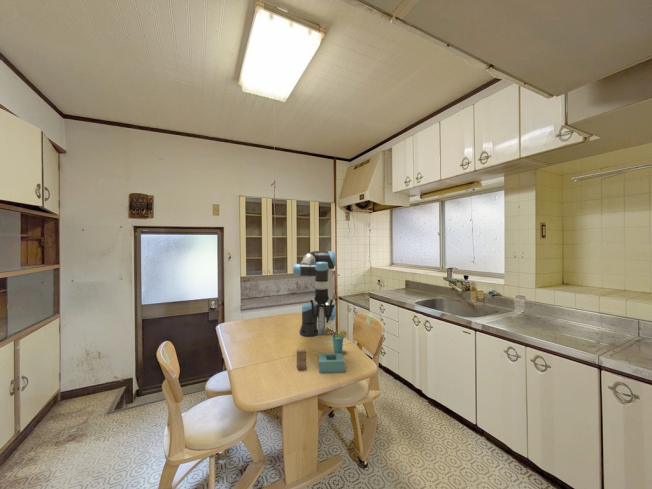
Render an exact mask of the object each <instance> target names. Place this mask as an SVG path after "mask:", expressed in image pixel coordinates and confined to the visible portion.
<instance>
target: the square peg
mask: <svg viewBox="0 0 652 489" xmlns="http://www.w3.org/2000/svg"><path fill="white" fill-rule="evenodd" d="M306 350H307V349H306V348H298V349H296V368H297V371H304V370H307V351H306Z"/></svg>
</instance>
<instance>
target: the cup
mask: <svg viewBox="0 0 652 489" xmlns="http://www.w3.org/2000/svg"><path fill="white" fill-rule="evenodd" d="M326 334H327V335H329V334H332V336H331V338H332V345H333V354H334V353H342V354H343V345H344V344H343V343H344V339H345V338H346V337H347V335H348V334H347V330H346V331H345V330H340V331H339V333H337V334H335V333H334V332H333V331H332V330H331V331H328V332H326Z"/></svg>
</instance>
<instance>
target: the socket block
mask: <svg viewBox="0 0 652 489" xmlns="http://www.w3.org/2000/svg"><path fill="white" fill-rule="evenodd" d="M343 354H344V353H343V352H342V353H335V354H334V353H318V372H319V374H321V373H322V374H324V373H325V374H326V373H327V374H328V373H345V372H346V371H345V370H346V368H345V367H346V366H345V364H346V363H345V359H344V355H343Z"/></svg>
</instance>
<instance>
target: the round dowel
mask: <svg viewBox="0 0 652 489" xmlns="http://www.w3.org/2000/svg"><path fill="white" fill-rule="evenodd" d="M318 335H319V336H325V335H326V329H325V308H324V307H320V308H319V310H318Z"/></svg>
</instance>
